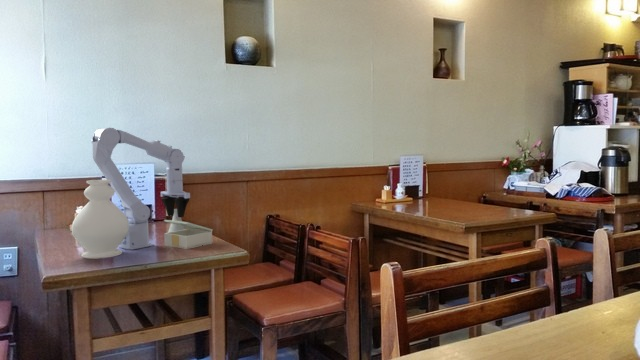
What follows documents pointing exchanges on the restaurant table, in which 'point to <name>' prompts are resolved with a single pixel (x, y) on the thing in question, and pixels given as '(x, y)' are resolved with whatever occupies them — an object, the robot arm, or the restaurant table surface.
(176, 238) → the parcel box
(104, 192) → the decorative vase
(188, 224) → the box lid
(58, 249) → the restaurant table surface
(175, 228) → the flask
